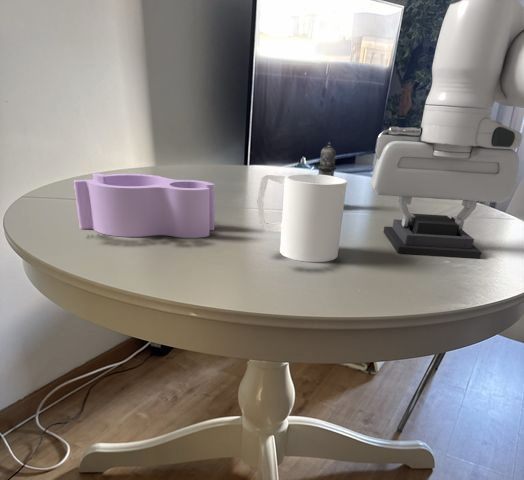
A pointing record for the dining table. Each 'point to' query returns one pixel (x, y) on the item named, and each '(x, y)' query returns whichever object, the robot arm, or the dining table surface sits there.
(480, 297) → the dining table surface
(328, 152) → the salt shaker
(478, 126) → the robot arm
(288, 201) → the cup
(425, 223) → the black pad
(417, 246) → the base pad
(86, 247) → the dining table surface
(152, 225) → the purple hollow rounded tray
